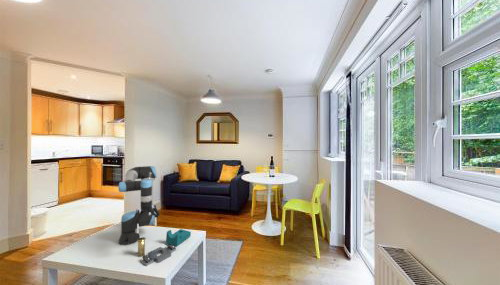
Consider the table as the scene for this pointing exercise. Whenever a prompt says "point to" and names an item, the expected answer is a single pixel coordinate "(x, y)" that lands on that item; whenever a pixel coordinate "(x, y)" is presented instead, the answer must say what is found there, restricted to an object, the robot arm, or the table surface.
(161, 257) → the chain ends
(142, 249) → the pin
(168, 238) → the teal notched block
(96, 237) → the table surface
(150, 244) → the table surface
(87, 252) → the table surface
